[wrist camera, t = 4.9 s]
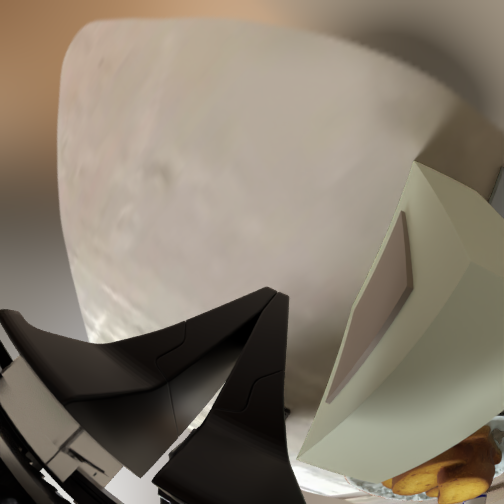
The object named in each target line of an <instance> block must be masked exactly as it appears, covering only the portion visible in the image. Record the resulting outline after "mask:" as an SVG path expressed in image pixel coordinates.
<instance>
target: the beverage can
mask: <svg viewBox="0 0 504 504" xmlns="http://www.w3.org/2000/svg"><path fill="white" fill-rule="evenodd" d="M486 497H487V493H485V492H484V493H483V494H481V495H480V496H478V497H476V498H474V499H470V500H466V501H463V504H486Z"/></svg>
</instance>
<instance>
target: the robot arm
mask: <svg viewBox="0 0 504 504" xmlns="http://www.w3.org/2000/svg"><path fill="white" fill-rule="evenodd" d="M288 313H289V296H288V295H286V294H283V293H281V292H278V293H277V291H276V290H274V289H272V288H269V287H264V288H262V289H259V290H257V291H255V292H253V293H250V294H248V295H246V296H243V297H241V298H239V299H236V300H234V301H231V302H229V303H227V304H224V305H222V306H220V307H217V308H215V309H212V310H210V311H207V312H205V313H203V314H200V315H198V316H195V317H193V318H190V319H188V320H186V322H185V321H183V322H180V323H178V324H175V325H172V326H170V327H167V328H164V329H161V330H158V331H154V332H151V333H148V334H144V335H140V336H136V337H132V338H128V339H124V340H120V341H116V342H112V343H105V344H94V343H88V342H84V341H79V340H76V339H72V338H68V337H64V336H60V335H57V334H53V333H50V332H46V331H43V330H40V329H37V328H35V327H33V326H32V325H30V324H29V323H28V322H27V321H26V320H25V319H24V318H23V316H22V315H21V314H20V313H19V312H18V311H14V310H8V309H1V310H0V323H1V325H2V327H3V328H4V330H5V332H6V333H7V335H8V337H9V338H10V340H11V341H12V343H13V345H14V346H15V348H16V349H17V351H18V352H19V354H20V356H18V357H17V358H16V359H15V360H14V361H13V360H12V358H11V356H10V355H9V353H8V352H7V350H6V348H5V347H4V345H3V344H2V342H1V340H0V504H71V503H70V502H69V501H68V500H66V499H64V498H63V497H62V496H61V495H60V494H59V493H58V492H57V491H58V490H57V489H56V488H55V487H54V486H52V485H51V484H49V483H48V482H46V481H45V480H44V479H43V478H44V477H45V476H44V475H43V474H42V473H41V472H40V470H41V469H42V468H44V469H45V470H46V472H47V473H48V474H49V475H50V476H51V477H52V478H53V479H54V480H55V481H56V482H57V483H58V485H59V486H60V487H61V488H62V489H63V490H64V491H66V493H67V494H68V495H69V496H71V497H72V498H73V499H74V501H73V502H74V503H75V504H124V503H122V502H121V501H120V500H119V499H117V498H116V497H115V496H113V495H112V494H111V493H109V492H108V491H107V490H106V489H105V488H104V487H105V486H106V485H107V484H108V483H109V482H110V481H111V479H112V478H113V477H114V476H115V475H116V474H117V473H118V472H119V470H120V469H121V468H122V467H123V466H124V467H126V468H127V469H128V470H130V471H131V472H132V473H134V474H135V475H136V476H138V477H139V478H141V477H142V476H143V475H144V474H145V473H146V472H147V471H148V470H149V469H150V468H151V467H152V466H153V465H154V464H155V463H156V461H158V459H159V458H160V457H161V456H162V455H163V454H164V453H165V452H166V451H167V450H168V449H169V447H170V446H171V445H172V444H173V443H174V442H175V441H176V440H177V438H178V436H180V435H181V434H182V433H183V431H184V430H185V429H186V428H187V427H188V426H189V425H190V423H191V422H192V421H193V420H194V419H195V418H196V416H197V415H198V414H199V413H200V412H201V411H202V409H203V408H204V407H205V406H206V405H207V403H208V402H209V401H210V400H211V399H212V397H213V396H214V395H215V394H216V392H217V391H218V390H219V389H220V388H221V386H222V385H223V384H224V383H225V384H224V386H223V388H222V389H221V391H220V393H219V395H218V397H217V399H216V401H215V402H214V404H213V406H212V409H211V410H210V412H209V413H208V415H207V417H206V418H205V420H204V421H203V423H202V424H201V425H200V427H198V428H197V429H193V430H192V432H191V433H190V434H189V436H188V437H187V438H186V439H185V440H184V441H183V442H182V443H180V444H179V445H178V446H177V447H176V448H175V449H173V450H172V451H171V452H170V453H169V461H168V462H167V463H166V464H165V465H164V466H163V467H162V469H161V470H160V471H159V472H158V473H157V474H156V475H155V477H154V478H153V480H152V483H153V484H154V485H156V486H157V487H158V496H160V502H161V503H160V504H306V502H305V499H304V497H303V494H302V492H301V489H300V487H299V485H298V482H297V480H296V477H295V475H294V472H293V470H292V467H291V465H290V461H289V456H288V449H287V439H286V425H285V420H286V418H287V417H288V415H289V413H290V411H289V410H287V409H285V408H284V378H285V372H284V371H285V362H286V348H287V331H288ZM225 381H226V382H225Z"/></svg>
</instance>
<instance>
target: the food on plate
mask: <svg viewBox="0 0 504 504" xmlns="http://www.w3.org/2000/svg"><path fill="white" fill-rule="evenodd" d="M496 428H497V429H499V430H500V431H504V416H496V417H494V418H493V419H492V420H491V421H489V422H488V423H487V424H485V425H484V426H483V427H481V428H480V429H478V430H477V431H476V432H474V433H473V434H471V435H470V436H468V437H467V438H465V439H464V440H462V441H461V442H459V443H458V444H456V445H454V446H453V447H451V448H449V449H448V450H446V451H444V452H443V453H441V454H439V455H437V456H436V457H434V458H432V459H430V460H428V461H426V462H424V463H423V464H421V465H419V466H417V467H415V468H413V469H410V470H408V471H406V472H404V473H402V474H400V475H397V476H395V477H393V478H391V479H388V480H386V481H383V482H381V483H378V484H376V483H371V482H367V481H363V480H359V479H355V478H351V477H348V476H345V478H346V480H347V481H348V483H349V484H351V485H352V486H354V487H355V488H357V489H359V490H360V491H364V492H366V493H368V494H371V495H374V496H379V497H383V498H387V499H395V500H402V501H409V500H412V501H424V500H433V499H438V504H454V503H459V502H463V501H466V500H470V499H474V498H476V497H478V496H480V495H481V494H483V493H484V492H486V491H487V490H488V488H489V487H490V486H491V484H492V481H493V479H495V478H496V477H499V476H500V475H501V474H503V473H504V437H503V438H502V442H501V443H500V444H499V445H498V441H496V440H495V439H494V438H493V434H492V431H493V430H494V429H496Z"/></svg>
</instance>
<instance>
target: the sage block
mask: <svg viewBox="0 0 504 504" xmlns="http://www.w3.org/2000/svg"><path fill="white" fill-rule="evenodd" d="M503 410H504V219H503V218H502V217H501V215H500V214H499V213H498V212H497V211H496V210H495V209H494V208H493V207H492V206H491V205H490V204H489V203H488V202H487V201H486V200H485V199H484V198H483V197H482V196H481V195H480V194H479V193H477V192H476V191H475V190H473V189H471V188H469V187H468V186H466V185H464V184H462V183H460V182H458V181H456V180H454V179H452V178H450V177H448V176H446V175H444V174H442V173H440V172H438V171H436V170H434V169H432V168H430V167H428V166H425V165H423V164H421V163H419V162H416V161H413V164H412V167H411V170H410V173H409V176H408V179H407V182H406V185H405V187H404V190H403V193H402V196H401V198H400V201H399V204H398V206H397V209H396V211H395V214H394V216H393V219H392V221H391V224H390V226H389V229H388V231H387V233H386V236H385V238H384V240H383V243H382V245H381V247H380V250H379V252H378V254H377V256H376V258H375V261H374V263H373V265H372V267H371V269H370V271H369V273H368V275H367V278H366V280H365V282H364V284H363V286H362V288H361V290H360V292H359V294H358V296H357V298H356V300H355V301H354V303H353V305H352V308H351V312H350V316H349V319H348V323H347V326H346V330H345V333H344V336H343V339H342V343H341V346H340V349H339V352H338V355H337V358H336V361H335V364H334V367H333V370H332V373H331V376H330V379H329V381H328V384H327V387H326V390H325V392H324V395H323V398H322V400H321V403H320V405H319V408H318V410H317V413H316V415H315V418H314V420H313V423H312V425H311V427H310V430H309V432H308V434H307V437H306V439H305V441H304V443H303V446H302V448H301V450H300V452H299V454H298V456H297V459H296V460H299V461H302V462H304V463H307V464H310V465H313V466H316V467H318V468H321V469H325V470H328V471H331V472H334V473H337V474H341V475H344V476H348V477H351V478H355V479H359V480H363V481H367V482H371V483H376V484H378V483H381V482H383V481H386V480H388V479H391V478H393V477H395V476H397V475H400V474H402V473H404V472H406V471H408V470H410V469H413V468H415V467H417V466H419V465H421V464H423V463H424V462H426V461H428V460H430V459H432V458H434V457H436V456H437V455H439V454H441V453H443V452H444V451H446V450H448V449H449V448H451V447H453V446H454V445H456V444H458V443H459V442H461V441H462V440H464V439H465V438H467V437H468V436H470V435H471V434H473V433H474V432H476V431H477V430H478V429H480V428H481V427H483V426H484V425H485V424H487V423H488V422H489V421H491V420H492V419H493V418H494V417H496V416H497V415H498V414H500V413H501V412H502V411H503Z"/></svg>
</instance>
